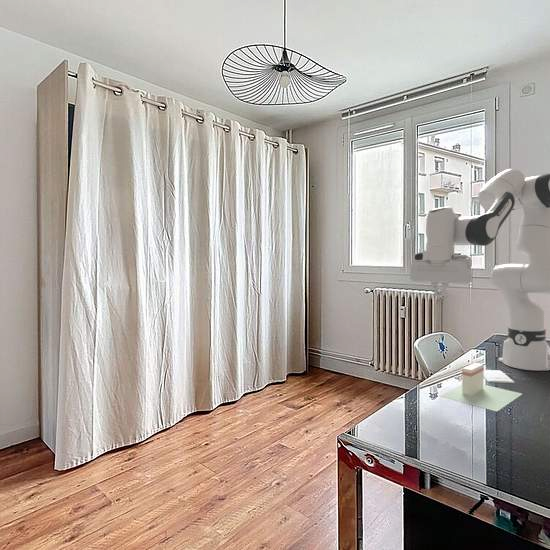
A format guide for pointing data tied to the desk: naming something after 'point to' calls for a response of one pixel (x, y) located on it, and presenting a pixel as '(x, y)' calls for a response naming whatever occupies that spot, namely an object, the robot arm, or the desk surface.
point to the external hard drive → (496, 376)
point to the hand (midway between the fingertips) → (439, 295)
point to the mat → (484, 397)
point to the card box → (472, 379)
